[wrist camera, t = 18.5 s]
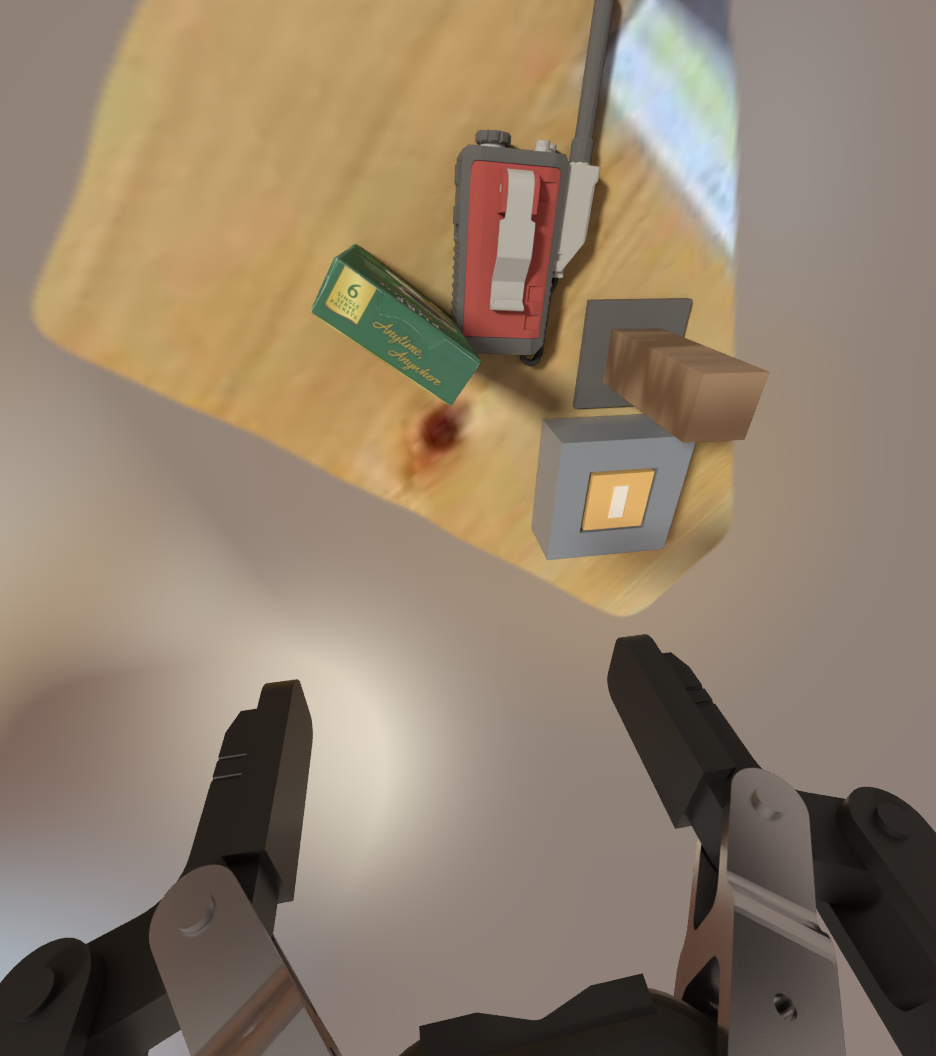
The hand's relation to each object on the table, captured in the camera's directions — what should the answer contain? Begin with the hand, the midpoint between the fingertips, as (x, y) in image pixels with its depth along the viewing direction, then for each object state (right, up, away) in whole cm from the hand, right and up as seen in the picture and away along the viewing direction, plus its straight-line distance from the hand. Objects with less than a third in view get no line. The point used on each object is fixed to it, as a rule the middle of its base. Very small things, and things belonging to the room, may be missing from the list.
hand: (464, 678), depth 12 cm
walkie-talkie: (+3, +25, +19) cm, 32 cm away
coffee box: (-5, +20, +20) cm, 29 cm away
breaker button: (+12, +8, +30) cm, 33 cm away
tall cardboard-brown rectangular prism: (+13, +17, +25) cm, 33 cm away
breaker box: (+12, +9, +31) cm, 34 cm away
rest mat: (+13, +18, +25) cm, 33 cm away
